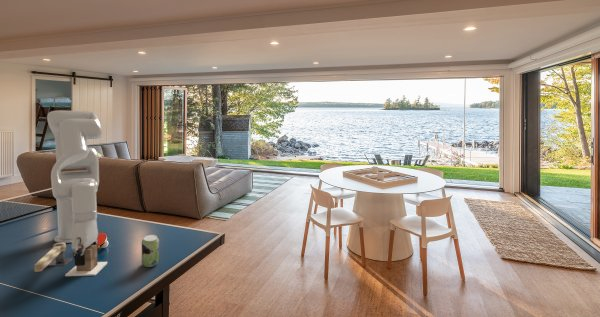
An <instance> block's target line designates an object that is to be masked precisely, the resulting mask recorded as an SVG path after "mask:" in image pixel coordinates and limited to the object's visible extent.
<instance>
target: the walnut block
mask: <svg viewBox="0 0 600 317" xmlns="http://www.w3.org/2000/svg"><path fill="white" fill-rule="evenodd" d="M78 250H80V251H81V250H82V249H78ZM84 254H85V265H84V266H76V269H77V271H92V270H93V269H94V268H95V267H96V266H97V265H98V262H99V261H98V254H97V245H90V246H88V247H87V248H85V251H84Z"/></svg>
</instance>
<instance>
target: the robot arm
mask: <svg viewBox="0 0 600 317" xmlns="http://www.w3.org/2000/svg"><path fill="white" fill-rule="evenodd" d="M46 120H47V123H48V127H49V129H50V130H51V132H52V134H53V137H54V141H55V143H54V145H55V157H56V160H55V161H56V162H55V163H54V164H53V166H52V169H51V172H50V181H51V183H50V184H51V192H52V195H53V197H54V199H56V212H57V214H56V215H57V232H58V234H57V235H56V236H55V237H54V242H56V243H67V244H68V243H69V244H70V243H71V250H72V254H73V256H74V267H75V266H84V265H85V254H84V251H85V248H87V247H88V246H90V245H97V255H98V254H99V251H98V250H99V247H98V246H99V240H98V239H99V230H98V220H97V218H98V210H97V209H98V208H97V207H98V206H97V205H98V204H97V192H98V190H99V189H98V188H99V184H100V167H99V166H100V164H99V162H100V161H99V154H98V151H97V150H96V148H94V147H90V146H89V147H88V141H87V140H94V139H95V140H98V139H101V137H102V135H103V128H102V123H101V121H100V120H99V118H98V116H97V114H96V113H95V112H93V111H86V110H83V111H82V110H80V111H79V110H64V109H63V110H62V109H61V110H52V111H49V112H48V113H47V118H46ZM64 169H65V170H67V171H63V170H64ZM68 169H69V170H70V171H69V170H68ZM71 169H81V170H71ZM82 169H84V170H82ZM85 169H86V170H85ZM78 249H82V250H81V251H80V250H78Z"/></svg>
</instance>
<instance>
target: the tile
mask: <svg viewBox="0 0 600 317" xmlns="http://www.w3.org/2000/svg"><path fill="white" fill-rule="evenodd" d="M97 262H98V265H97V266H96V267H95V268H94V269H93V270H92V271H77V269H76V266H75V265H74V267H72V269H69V271H68V272H67V273H65V275H64V276H65V277H83V276H84V277H85V276H87V277H88V276H96V275H97V274H99V272H100V271H101V270H102V269H104V268H105V267H106V266H107V264H108V261H97Z"/></svg>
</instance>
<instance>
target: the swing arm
mask: <svg viewBox="0 0 600 317" xmlns="http://www.w3.org/2000/svg"><path fill="white" fill-rule="evenodd" d="M66 250H67V244H66V243H58V242H56V243H54V244H53V245H52V248H51V249H50V250H49V251H48V252H47V253H46V254H44V256H42V257H41V258H40V259H39V260H37V262H36V263H35V264H34V265H33V267H34V272H35V273H36V272H37V273H38V272H42V271H43V270H45V269H46V268H47V265H48V264H49V263H51V262H52V261H54V260H55V259H56V262H62V261H64V260H65V251H66Z"/></svg>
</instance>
